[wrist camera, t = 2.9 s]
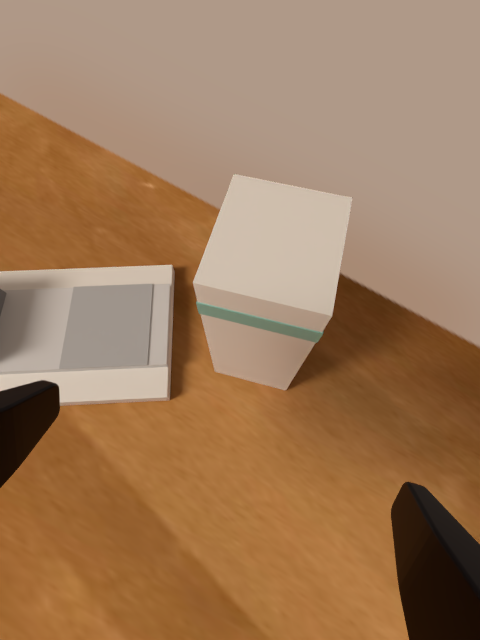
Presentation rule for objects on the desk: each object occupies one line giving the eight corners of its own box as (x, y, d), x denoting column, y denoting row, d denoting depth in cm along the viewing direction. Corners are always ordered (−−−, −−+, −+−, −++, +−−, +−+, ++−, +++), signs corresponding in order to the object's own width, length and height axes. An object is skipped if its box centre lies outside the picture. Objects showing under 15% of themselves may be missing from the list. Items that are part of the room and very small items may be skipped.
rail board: (169, 400, 22) (153, 384, 18) (-92, 413, 21) (-173, 399, 17) (174, 272, 26) (162, 234, 22) (-46, 280, 25) (-102, 243, 21)
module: (286, 391, 22) (333, 317, 11) (214, 372, 23) (190, 283, 12) (301, 318, 24) (353, 197, 13) (235, 302, 25) (233, 173, 14)
